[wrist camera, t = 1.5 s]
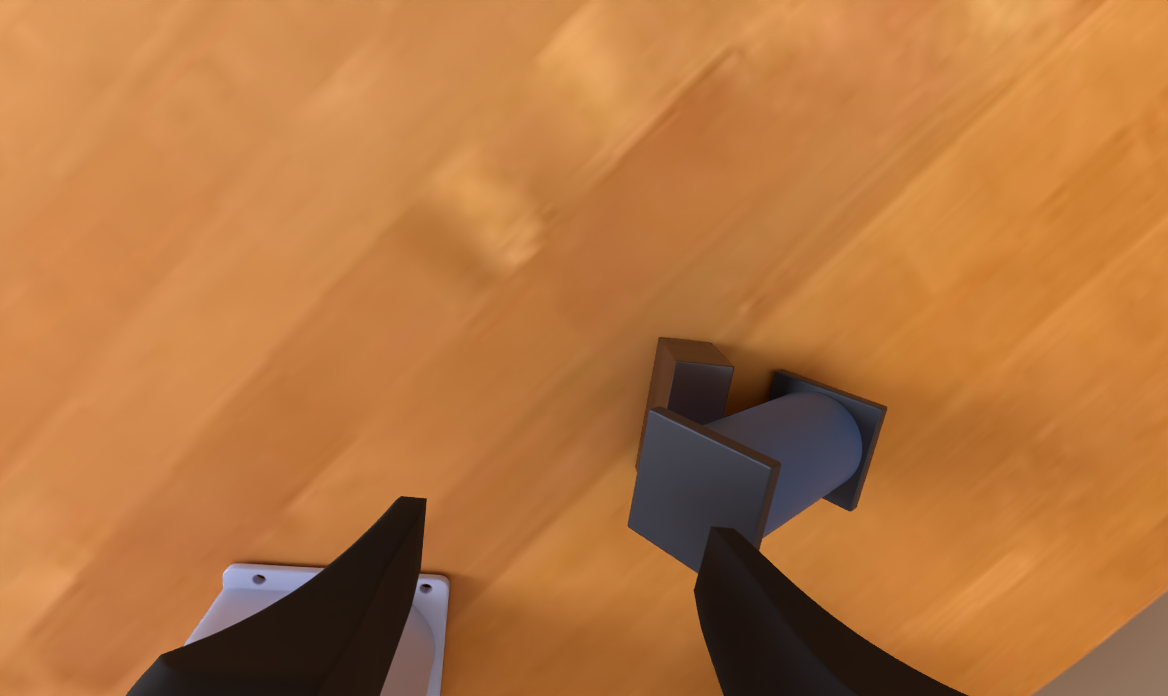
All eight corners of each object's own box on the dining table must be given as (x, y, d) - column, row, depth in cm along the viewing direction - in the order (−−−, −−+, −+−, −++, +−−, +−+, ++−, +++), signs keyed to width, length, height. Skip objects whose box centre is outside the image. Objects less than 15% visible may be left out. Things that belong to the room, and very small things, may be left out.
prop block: (634, 467, 26) (647, 504, 23) (658, 336, 25) (675, 360, 22) (684, 471, 27) (702, 509, 24) (711, 342, 25) (734, 366, 22)
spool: (607, 448, 26) (644, 595, 17) (623, 351, 25) (672, 458, 16) (818, 466, 27) (952, 612, 18) (844, 375, 26) (1001, 486, 17)
